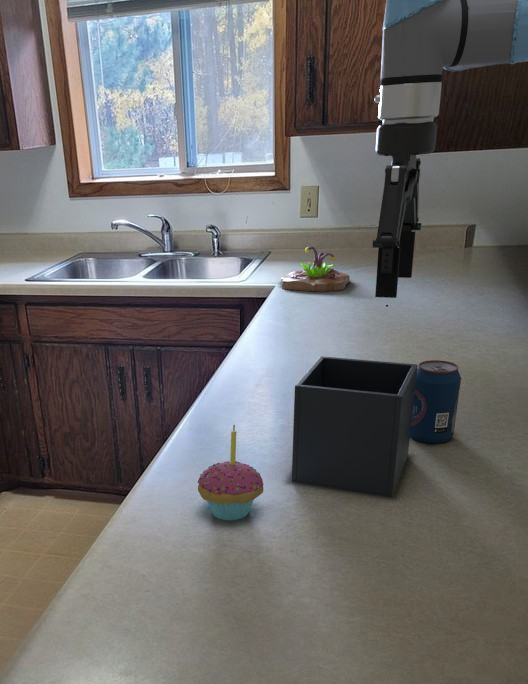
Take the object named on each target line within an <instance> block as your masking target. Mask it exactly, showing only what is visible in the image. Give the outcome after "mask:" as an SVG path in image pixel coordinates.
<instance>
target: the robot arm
mask: <svg viewBox="0 0 528 684" xmlns="http://www.w3.org/2000/svg"><path fill="white" fill-rule="evenodd" d="M383 17H384V18H383V25H382V27H381V29H382V42H381V43H382V45H381V46H382V47H381V64H380V83H379V86H380V87H379V88H380V89H379V93H380V94H376V95H375V96H374V102H375V104H378V116H377V118H378V120H379V121H382V124H379V125H378V127H377V128H376V139H375V154H376V155H377V156H379V157H391V164H390V165H386V166H385V168H384V174H385V175H384V185H383V190H382V198H381V205H380V213H379V219H378V226H377V233H376V238H375V239H374V240H372V248H373V249H378V251H377V263H376V264H377V265H376V278H375V279H376V280H375V295H374V297H375V298H387V299H389V298H390V299H396V298H397V297H398V284H399V278H403V279H405V278H407V279H411V278H412V277H413V267H414V266H413V265H414V254H415V253H414V252H415V244H416V243H415V242H416V233H417V232H418V231H420V232H421V231H422V222H419V220H420V219H419V204H420V203H419V201H420V199H419V198H420V194H419V193H420V179H421V178H420V177H421V164H422V161H421V158H420V157H419V158H417V156H421V155H422V156H423V155H430V154H432V153H433V152H434V151H436V143H437V142H436V141H437V134H438V133H437V132H438V125H437V123H436V122H434V119H435V118H437V117H438V116H439V115H440V105H441V95H442V86H443V85H442V84H443V82H442V80H443V70H446V71H449V72H452V73H453V72H454V73H455V72H463V71H466V70H469V69H476V68H482V67H487V66H488V67H489V66H496V65H505V64H510V65H515V64H517V63H525V62H528V0H385V9H384V16H383ZM416 231H417V232H416Z"/></svg>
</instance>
